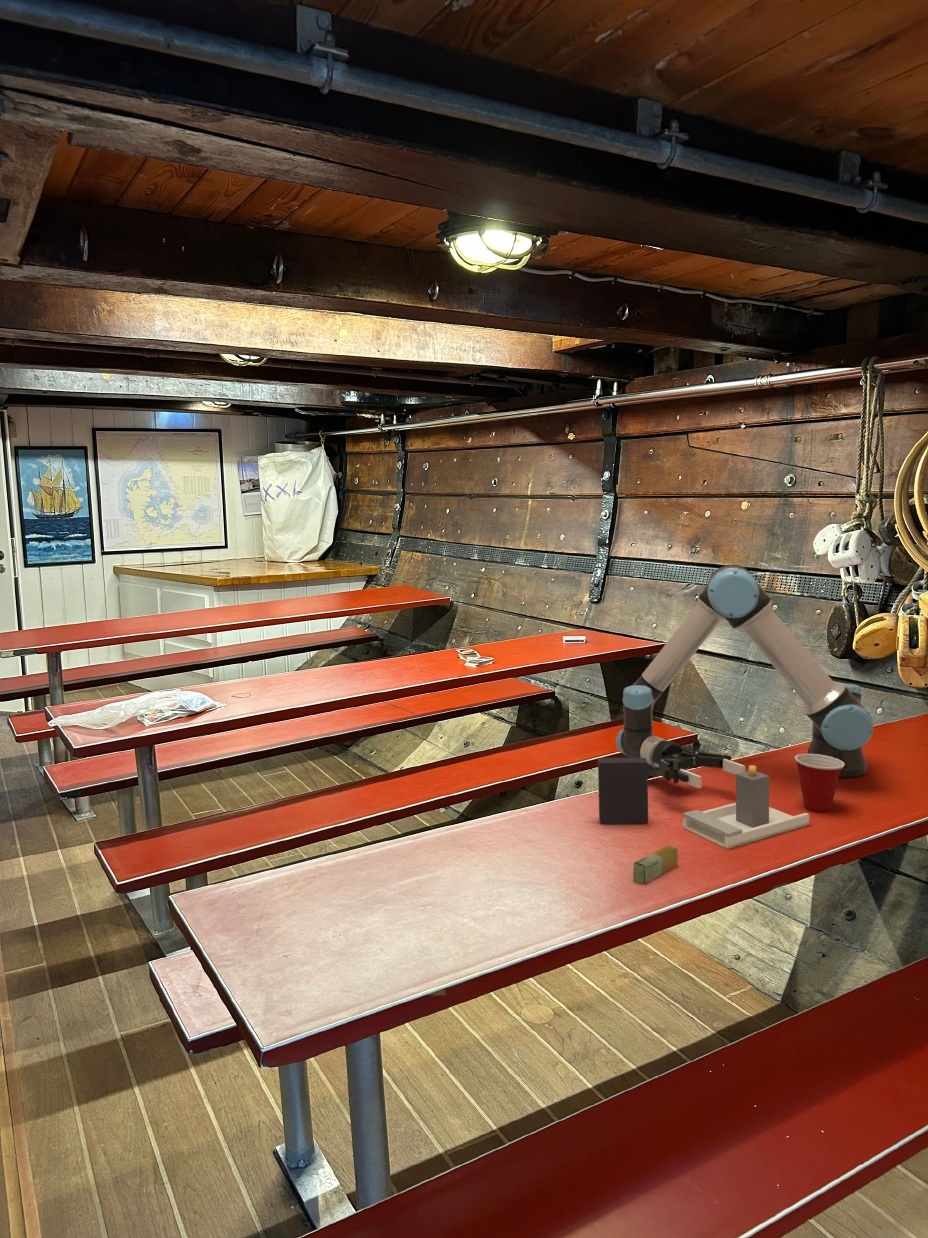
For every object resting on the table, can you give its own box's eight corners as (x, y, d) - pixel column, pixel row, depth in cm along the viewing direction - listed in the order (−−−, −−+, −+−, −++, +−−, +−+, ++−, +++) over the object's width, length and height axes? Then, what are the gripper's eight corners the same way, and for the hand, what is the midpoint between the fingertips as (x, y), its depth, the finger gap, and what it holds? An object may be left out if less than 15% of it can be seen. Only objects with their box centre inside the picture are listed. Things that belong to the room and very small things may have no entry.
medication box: (643, 886, 166) (643, 866, 165) (632, 881, 168) (632, 862, 167) (678, 866, 174) (678, 847, 174) (666, 862, 176) (667, 843, 176)
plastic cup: (851, 816, 195) (853, 765, 194) (804, 817, 196) (804, 767, 194) (832, 799, 206) (833, 751, 204) (787, 800, 206) (787, 752, 205)
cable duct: (761, 806, 203) (761, 792, 203) (809, 825, 191) (809, 810, 191) (683, 827, 193) (682, 813, 192) (728, 849, 180) (728, 834, 180)
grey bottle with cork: (752, 816, 196) (752, 761, 194) (769, 823, 192) (769, 767, 190) (735, 820, 194) (736, 765, 192) (752, 828, 189) (752, 771, 188)
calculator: (646, 818, 199) (645, 756, 197) (648, 825, 195) (647, 762, 193) (599, 818, 200) (597, 757, 198) (600, 825, 196) (598, 762, 194)
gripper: (699, 759, 225) (761, 782, 206) (623, 777, 214) (681, 802, 195) (699, 732, 224) (761, 752, 205) (622, 748, 213) (680, 771, 194)
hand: (722, 776), depth 200 cm, fingers open, 13 cm apart
